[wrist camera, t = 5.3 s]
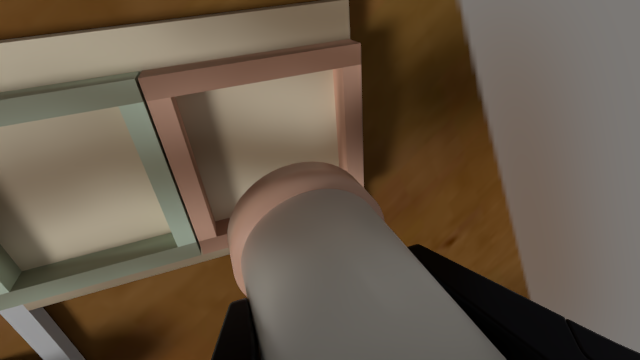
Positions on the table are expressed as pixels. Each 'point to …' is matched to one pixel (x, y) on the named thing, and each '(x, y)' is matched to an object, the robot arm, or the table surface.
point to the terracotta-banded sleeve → (339, 276)
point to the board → (161, 138)
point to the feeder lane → (41, 333)
